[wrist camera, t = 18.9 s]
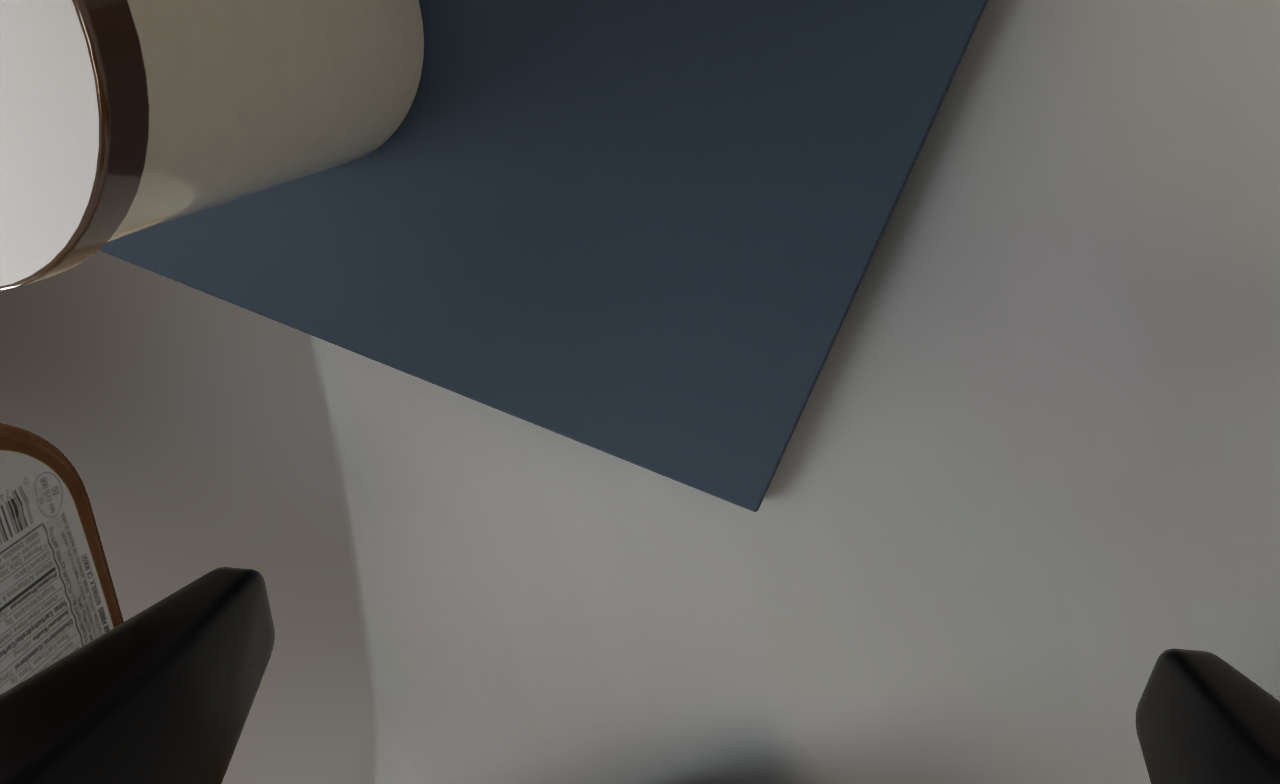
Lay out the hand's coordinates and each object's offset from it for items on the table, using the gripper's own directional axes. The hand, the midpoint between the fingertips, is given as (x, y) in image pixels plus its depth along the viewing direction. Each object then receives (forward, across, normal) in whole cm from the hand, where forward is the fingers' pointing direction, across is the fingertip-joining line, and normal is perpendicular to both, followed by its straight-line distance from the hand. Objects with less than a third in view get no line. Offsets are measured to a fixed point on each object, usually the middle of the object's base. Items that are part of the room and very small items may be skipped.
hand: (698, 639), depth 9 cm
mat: (+13, +6, -3) cm, 15 cm away
